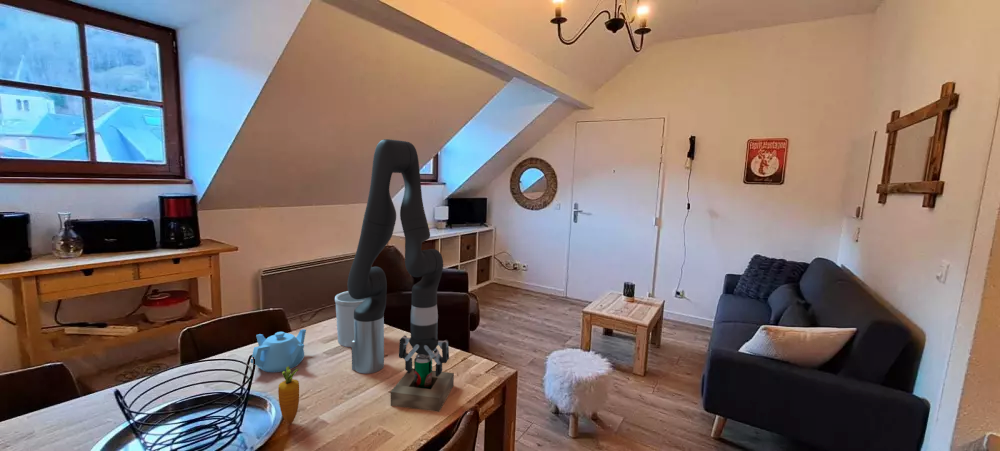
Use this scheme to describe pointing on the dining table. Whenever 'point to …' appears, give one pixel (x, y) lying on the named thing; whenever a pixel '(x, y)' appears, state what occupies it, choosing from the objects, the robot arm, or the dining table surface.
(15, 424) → the dining table surface
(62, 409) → the dining table surface
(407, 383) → the socket block
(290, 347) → the teapot
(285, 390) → the carrot
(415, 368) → the soda can
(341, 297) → the utensil holder
